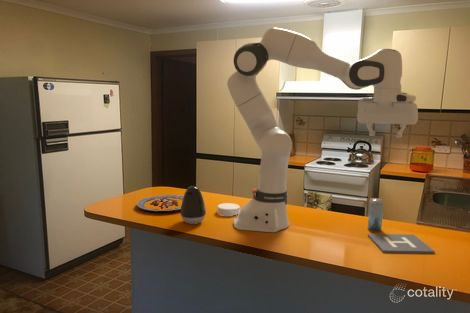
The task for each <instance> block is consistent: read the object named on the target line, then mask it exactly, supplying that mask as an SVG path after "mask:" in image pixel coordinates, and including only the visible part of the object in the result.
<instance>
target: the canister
mask: <svg viewBox="0 0 470 313" xmlns="http://www.w3.org/2000/svg"><path fill="white" fill-rule="evenodd" d="M383 209H384V199H382V198H376V197H372V198H371V197H370V198H369V204H368V216H367V230H368V231H370V232H374V233H375V232H376V233H377V232H378V233H379V231H380V232H382V226H383V225H382V223H383V215H384V213H383V212H384V210H383Z"/></svg>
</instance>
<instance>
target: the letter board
mask: <svg viewBox="0 0 470 313" xmlns="http://www.w3.org/2000/svg"><path fill="white" fill-rule="evenodd" d="M367 237H368V238H369V239H370V240H371V241H372V243H374V244H375V246H376V247H377V248H378V249H379V250H380V251H381V253H383V254H385V253H386V254H433V255H434V254H435V253H436V251H435V250H434V249H433V248H431V247H430V246H429V245H427V244H426V243H425V242H424V241H423V240H421V239H420V238H419V237H418V236H416V235H415V234H411V233H410V234H405V233H404V234H403V233H401V234H400V233H399V234H398V233H395V234H394V233H368V234H367Z"/></svg>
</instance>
